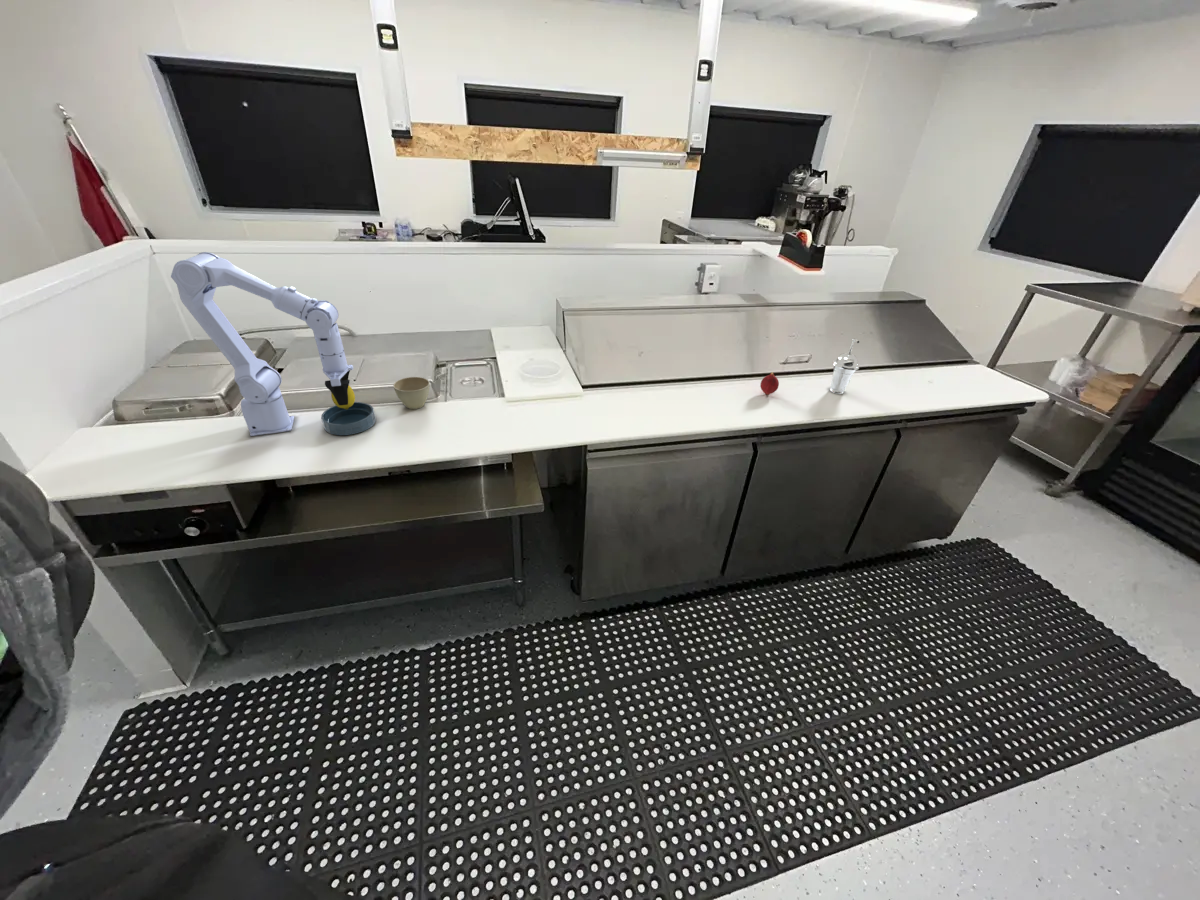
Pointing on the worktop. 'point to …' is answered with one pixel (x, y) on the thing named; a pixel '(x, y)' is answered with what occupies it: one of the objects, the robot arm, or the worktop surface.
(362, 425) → the bowl
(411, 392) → the flower pot
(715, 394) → the worktop surface
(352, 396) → the lemon
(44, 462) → the worktop surface
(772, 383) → the onion
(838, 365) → the cup with straw
